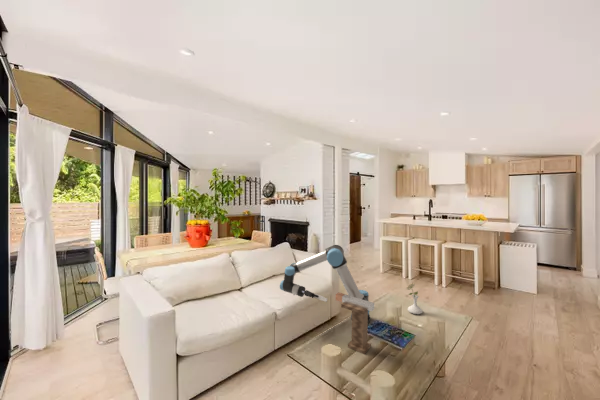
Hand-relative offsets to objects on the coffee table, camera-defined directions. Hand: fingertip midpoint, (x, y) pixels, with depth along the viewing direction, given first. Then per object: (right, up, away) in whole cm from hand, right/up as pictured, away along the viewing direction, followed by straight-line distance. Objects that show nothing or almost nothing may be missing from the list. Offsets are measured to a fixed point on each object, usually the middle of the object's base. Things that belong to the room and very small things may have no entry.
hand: (325, 299), depth 196 cm
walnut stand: (+19, -25, -16) cm, 35 cm away
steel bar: (+18, +3, -18) cm, 25 cm away
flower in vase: (+77, -21, +27) cm, 84 cm away
